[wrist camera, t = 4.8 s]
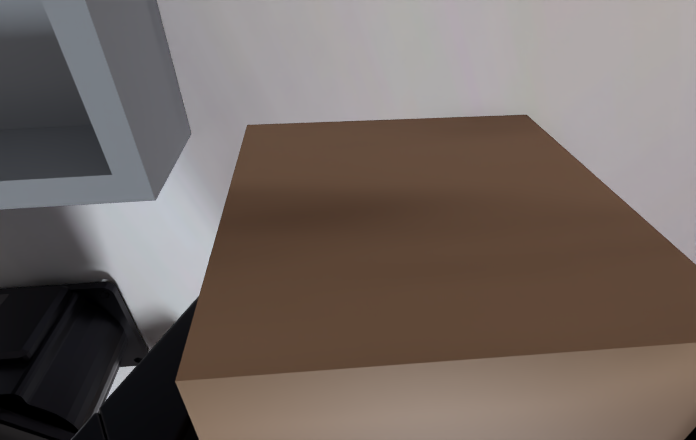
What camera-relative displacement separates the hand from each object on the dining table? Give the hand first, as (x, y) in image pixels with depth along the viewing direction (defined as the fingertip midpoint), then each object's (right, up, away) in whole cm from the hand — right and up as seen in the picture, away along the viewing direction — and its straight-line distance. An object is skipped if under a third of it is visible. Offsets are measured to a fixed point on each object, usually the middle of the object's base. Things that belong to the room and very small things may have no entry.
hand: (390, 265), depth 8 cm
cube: (0, +1, +1) cm, 1 cm away
